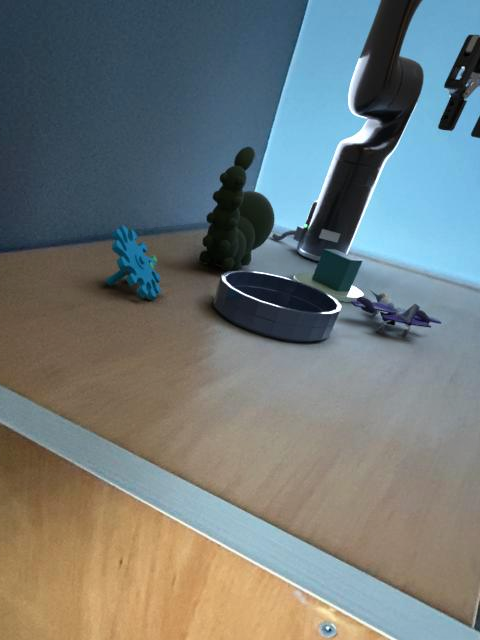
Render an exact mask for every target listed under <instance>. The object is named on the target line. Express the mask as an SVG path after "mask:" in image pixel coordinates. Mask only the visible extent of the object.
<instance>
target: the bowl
mask: <svg viewBox="0 0 480 640" xmlns="http://www.w3.org/2000/svg"><path fill="white" fill-rule="evenodd" d="M216 288H217V289H216V291H215V295H214V298H213V305H214V308H215V309H216V310H217V311H218V312H219V313H220V315H221V316H223V317H224V318H225V319H226V320H228V321H229V322H231V323H233V324H234V325H236V326H238V327H241V328H243V329H245V330H247V331H249V332H253V333H255V334H257V335H258V334H259V335H261V336H265V337H269V338H272V339H277V340H281V341H286V342H287V341H288V342H294V343H295V342H297V343H311V342H312V343H313V342H317V341H322V340H325V339H327V338H329V337H330V335H331V334H332V331H333V328H334V326H335V324H336V322H337V319H338V317H339V315H340V312H341V310H342V308H343V306H342V304H341V303H340V301H337V300H336V299H334V298H333V297H332V296H330V295H329V294H327V293H325V292H323V291H321V290H319V289H316V288H314V287H312V286H309V285H306V284H304V283H301V282H298V281H295V280H293V278H292V279H291V278H289V277H284V276H280V275H276V274H271V273H267V272H261V271H253V270H240V271H230V270H229V271H225V272H224V273H223V274H222V275H220V278H219V281H218V285H217V287H216Z"/></svg>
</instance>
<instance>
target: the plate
mask: <svg viewBox="0 0 480 640" xmlns="http://www.w3.org/2000/svg"><path fill="white" fill-rule="evenodd" d="M313 275H314V273H308V272H299V273H295V274H294V275H293V277H292V280H295V281H298V282H301V283H304V284H306V285H309V286H312V287H314V288H316V289H319V290H321V291H323V292H325V293H327V294H329V295H330V296H332V297H333V298H334V299H336V300H337V301H338V302H343V303H351V302H352V301H357V298H358V297H360V296H362V297H364V296H365V294H364V292H363V291H362V290H360V289H359V288H357V286H354V285H352V286H351V289H350V291H344V292H338V291H336V290H333V289H331V288H329V287H327V286H325V285H323V284H321V283H319V282H317V281H314V280H312V278H313Z"/></svg>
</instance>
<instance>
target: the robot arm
mask: <svg viewBox="0 0 480 640" xmlns="http://www.w3.org/2000/svg"><path fill="white" fill-rule="evenodd" d="M423 1H424V0H380V2H379V4H378V8H377V9H376V14H375V16H374V18H373V21H372V24H371V26H370V30H369V31H368V35H367V38H366V39H365V42H364V44H363V48H362V50H361V53H360V55H359V58H358V61H357V63H356V66H355V70H354V72H353V75H352V78H351V81H350V85H349V90H348V102H347V103H348V108H349V110H350V112H351V113H352V114H353V115H354V116H356V117H360V118H363V119H366V120H365V122H364V124H363V127H362V128H361V129H360V131H358V132H357V133H356V134H354V135H352V136H351V137H348V138H345V139H343V140H341V141H340V142H339V144H338V145H337V148H336V149H335V153H334V156H333V158H332V161H331V164H330V167H329V169H328V172H327V175H326V177H325V180H324V183H323V186H322V188H321V191H320V193H319V197H318V199H317V200H314V201H313V202H312V204H311V207H310V210H309V212H308V215H307V218H306V221H305V223H304V225H303V226H301V225H297V226H296V229H295V230H294V229H292V230H287V231H284V232H283V233H282V234H281V235H279V234H277V233H273V234H272V236H271V237H272V238H273V239H274V240H276V241H281V240H284V239H285V238H287V237H288V236H293V238H292V240H294V241H297V242H298V243H297V245H296V247H295V252H297V253H298V254H299V255H301V256H302V257H304V258H306V259H309V260H312V261H314V262H319V260H320V257H321V255H322V252H323V249H335V250H338V251H340V252H343V253H345V254H347V255H348V253H349V251H350V249H351V246H352V243H353V241H354V239H355V236H356V234H357V231H358V229H359V226H360V224H361V222H362V219H363V217H364V215H365V212H366V209H367V207H368V205H369V202H370V201H371V198H372V195H373V194H374V190H375V188H376V186H377V183H378V181H379V179H380V176H381V174H382V171H383V169H384V167H385V164H386V162H387V161H388V159H389V158H390V157H391V155H392V154H393V153H394V151H395V150H396V148H397V147H398V145H399V143H400V142H401V141H400V140H401V138H402V137H403V134H404V132H405V130H406V129H407V126H408V123H409V121H410V120H411V117H412V115H413V113H414V111H415V109H416V107H417V104H418V102H419V99H420V97H421V93H422V90H423V86H424V79H425V78H424V77H425V76H424V69H423V67H422V65H421V64H420V63H419V62H418V61H416V60H413V59H411V58H407V57H404V56H402V55H401V56H400V54H401V51H402V47H403V44H404V40H405V38H406V35H407V32H408V30H409V27H410V24H411V22H412V20H413V18H414V16H415V13H416V12H417V10H418V8H419V6H420V5H421V4H422V2H423ZM462 69H463V71H462V72H461V73H460V71H461V70H462ZM459 73H460V78H459V79H458V78H457V77H458V75H459ZM479 87H480V34H468V35H467V37H466V38H465V39H464V42H463V44H462V46H461V49H460V50H459V53H458V55H457V57H456V58H455V61H454V63H453V64H452V67H451V69H450V71H449V74H448V76H447V78H446V80H445V82H444V84H443V88H444V90H448V92H449V93H448V96H449V100H448V101H447V104H446V106H445V108H444V111H443V113H442V115H441V117H440V119H439V123H438V125H437V128H438V129H439V130H441V131H445V132H452V131H454V129H455V128H456V125H457V123H458V122H459V120H460V117H461V116H462V114H463V113H462V112H463V111H464V109H465V106H466V105H467V103H468V100H466V99H468V98H469V97H470V96H471V95H472V94H473V92H474V91H475V90H476V89H478V88H479ZM470 136H471V137H472V138H476V139H480V115H479V116H478V118H477V120H476V122H475V124H474V126H473V128H472V130H471V133H470Z"/></svg>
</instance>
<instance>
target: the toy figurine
mask: <svg viewBox="0 0 480 640" xmlns="http://www.w3.org/2000/svg"><path fill="white" fill-rule="evenodd" d="M255 159H256V151H255V149H254V148H253V147H251V146H246V147H242V148H241V149H240V150H239V151H238V153H236V155H235V158H234V161H233V165H232V166H230V167H228V168H227V169H226V170H225V171H224V172H222V173H221V174H220V175H219V182H220V183H221V186H220V188H219V189H218V190H217V191H214V192H213V194H212V200H213V201H214V202H215V203H216V206H214V209H213V210H212V211H211V212H210V211H209V212H208V213H207V215H206V222H207V223H208V224H210V225H209V226H208V229H207V231H206V235H205V236H204V237H203V238H202V245H203V247H204V248H205V250H202V251H200V253H199V254H198V255H199V256H198V259H199V262H200V263H202V264H204V265H212V264H214V265H216V266H218V267H219V268H221V269H222V270H223V271H229V272H230V271H241V270H242V267H245V266H248V265H249V264H250V263H251V261H252V252H253V250H254V251H255V250H256V249H257V248H260V247H261V246H262V245H263V244H264V243H265V242H266V241H267V240H268V238H269V237H270V235H271V233H272V231H273V229H274V226H275V211H274V208H273V205H272V203H271V202H270V199H268V198H267V197H266V196H265V195H264V194H263V193H261V192H258V191H253V190H245V191H244V190H243V189H244V187H245V186H246V184H247V178H248V177H247V173H246V171H247V170H248V169H249V168H250V167H251V166H252V165H253V162H254V160H255Z"/></svg>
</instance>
